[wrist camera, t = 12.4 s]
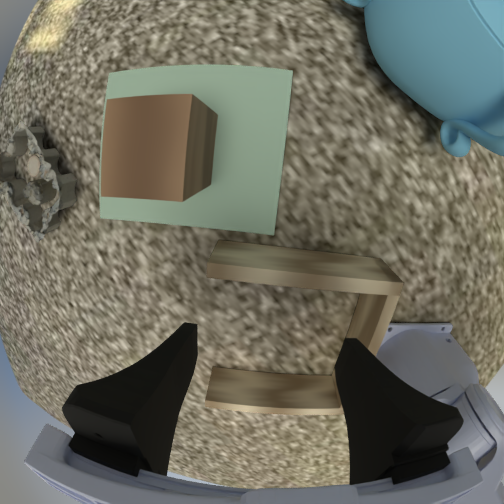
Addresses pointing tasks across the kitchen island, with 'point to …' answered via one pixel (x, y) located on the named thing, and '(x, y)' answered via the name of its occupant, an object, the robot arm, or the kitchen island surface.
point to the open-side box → (311, 277)
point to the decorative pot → (445, 63)
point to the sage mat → (218, 145)
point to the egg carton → (35, 182)
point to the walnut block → (157, 147)
